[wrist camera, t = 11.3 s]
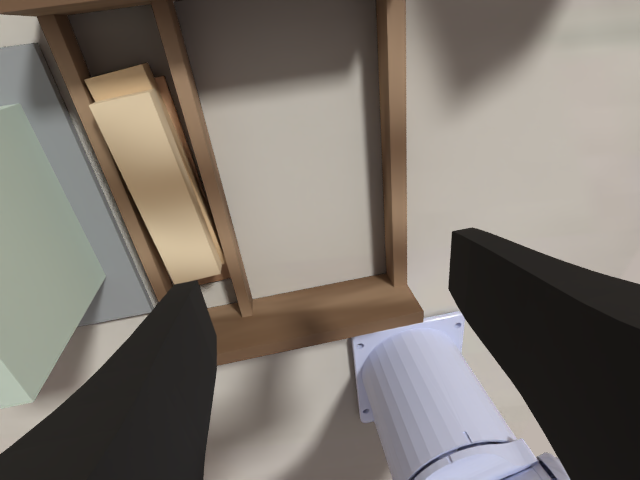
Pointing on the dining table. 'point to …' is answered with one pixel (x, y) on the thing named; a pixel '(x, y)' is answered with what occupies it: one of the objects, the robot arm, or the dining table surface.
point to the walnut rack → (247, 314)
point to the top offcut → (158, 183)
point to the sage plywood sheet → (37, 263)
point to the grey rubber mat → (74, 181)
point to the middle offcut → (144, 80)
